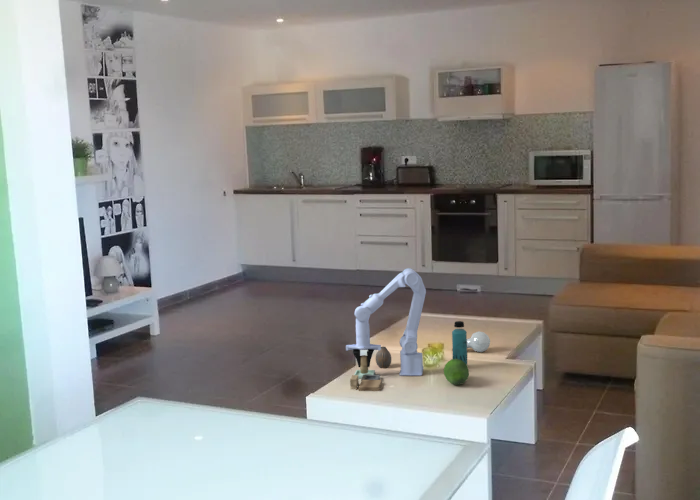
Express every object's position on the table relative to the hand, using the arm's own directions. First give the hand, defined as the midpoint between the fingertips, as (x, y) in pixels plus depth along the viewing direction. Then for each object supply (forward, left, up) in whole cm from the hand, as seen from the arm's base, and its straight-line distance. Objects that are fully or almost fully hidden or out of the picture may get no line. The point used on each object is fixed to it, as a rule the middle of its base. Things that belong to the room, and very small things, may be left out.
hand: (364, 366), depth 339 cm
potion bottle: (-45, -40, -4) cm, 60 cm away
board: (-4, +15, -5) cm, 16 cm away
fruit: (-39, +8, -4) cm, 40 cm away
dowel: (0, 0, -2) cm, 2 cm away
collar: (-4, +6, -4) cm, 8 cm away
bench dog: (+2, +15, -4) cm, 16 cm away
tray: (0, 0, -4) cm, 4 cm away
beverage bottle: (-40, -14, -4) cm, 42 cm away
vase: (-7, -15, -4) cm, 16 cm away
